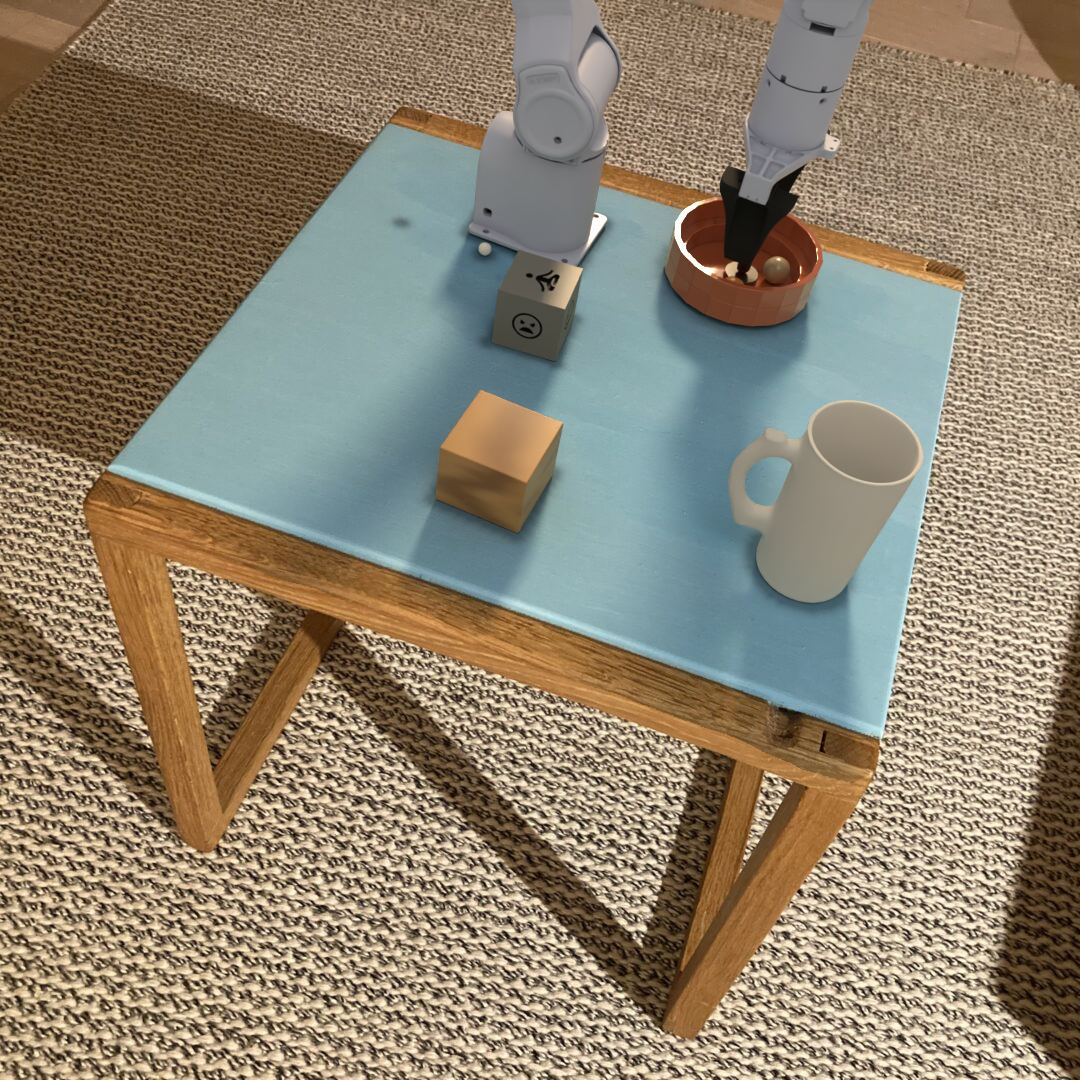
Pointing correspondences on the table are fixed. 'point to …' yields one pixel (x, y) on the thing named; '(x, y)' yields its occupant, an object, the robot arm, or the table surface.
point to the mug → (827, 495)
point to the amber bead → (735, 279)
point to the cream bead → (776, 270)
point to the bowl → (702, 261)
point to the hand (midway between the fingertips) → (751, 233)
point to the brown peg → (742, 273)
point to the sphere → (484, 248)
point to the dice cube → (536, 305)
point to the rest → (498, 460)
